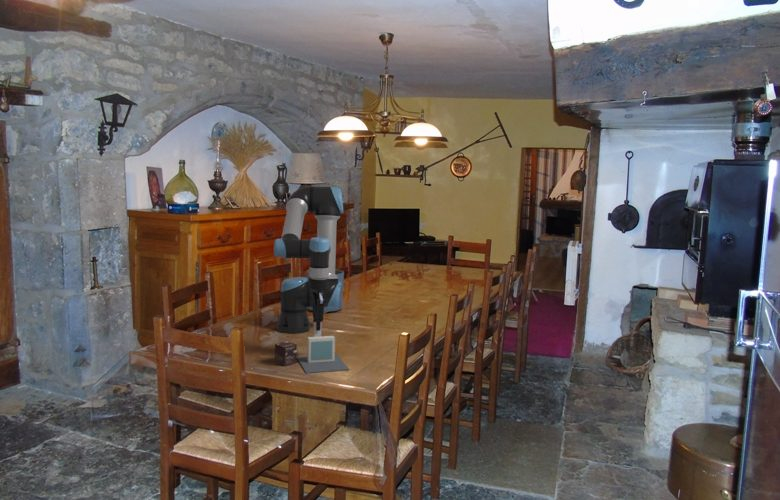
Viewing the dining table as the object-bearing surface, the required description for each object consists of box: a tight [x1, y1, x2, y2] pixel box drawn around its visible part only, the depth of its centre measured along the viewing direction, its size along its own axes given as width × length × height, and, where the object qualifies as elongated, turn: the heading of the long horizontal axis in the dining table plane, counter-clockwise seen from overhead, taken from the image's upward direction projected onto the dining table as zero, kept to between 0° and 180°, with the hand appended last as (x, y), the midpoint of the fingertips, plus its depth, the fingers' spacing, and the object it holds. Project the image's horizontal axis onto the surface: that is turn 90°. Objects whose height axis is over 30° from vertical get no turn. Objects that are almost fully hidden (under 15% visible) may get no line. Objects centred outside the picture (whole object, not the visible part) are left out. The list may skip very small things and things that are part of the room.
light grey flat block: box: [306, 335, 336, 362], centre depth 235 cm, size 3×10×9 cm, turn 109°
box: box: [274, 341, 298, 367], centre depth 232 cm, size 6×6×7 cm
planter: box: [306, 268, 345, 315], centre depth 318 cm, size 19×19×20 cm
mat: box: [297, 354, 350, 374], centre depth 233 cm, size 18×16×1 cm
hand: (317, 337), depth 241 cm, fingers closed
